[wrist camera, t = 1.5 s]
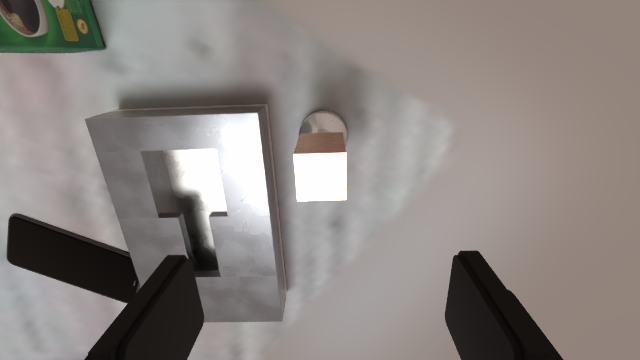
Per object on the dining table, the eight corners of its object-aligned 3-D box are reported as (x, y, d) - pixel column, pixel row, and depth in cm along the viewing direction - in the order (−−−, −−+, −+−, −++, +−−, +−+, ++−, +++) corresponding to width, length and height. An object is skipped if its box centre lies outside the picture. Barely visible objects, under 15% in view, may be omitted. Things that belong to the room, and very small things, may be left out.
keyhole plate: (118, 109, 29) (84, 119, 25) (267, 103, 29) (257, 112, 25) (171, 293, 38) (152, 322, 34) (287, 291, 37) (282, 321, 33)
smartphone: (11, 259, 37) (136, 301, 39) (4, 263, 36) (132, 307, 38) (14, 208, 34) (149, 257, 36) (7, 212, 33) (145, 262, 35)
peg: (298, 111, 29) (282, 144, 19) (346, 109, 29) (356, 142, 19) (301, 156, 31) (288, 209, 21) (346, 155, 30) (355, 208, 20)
